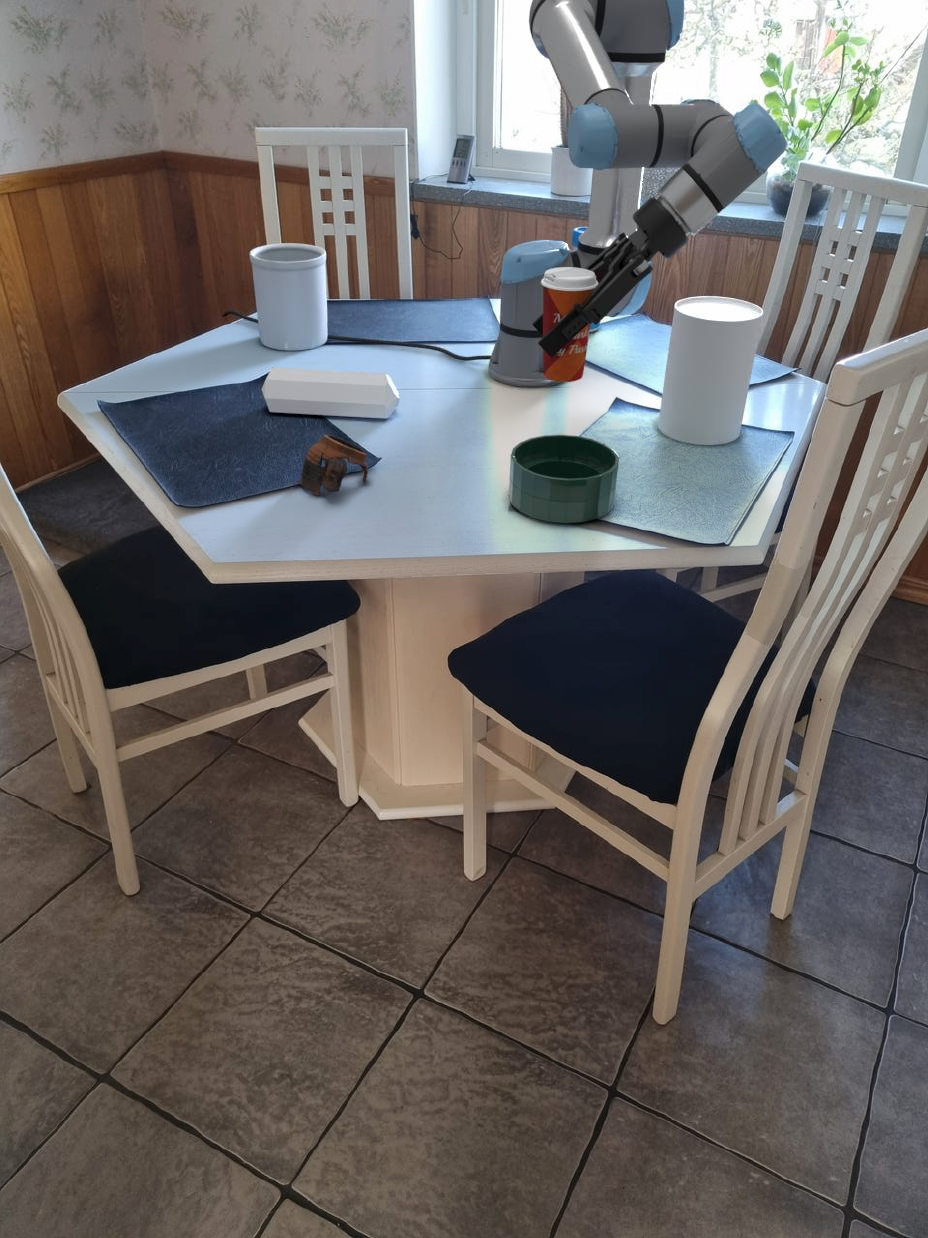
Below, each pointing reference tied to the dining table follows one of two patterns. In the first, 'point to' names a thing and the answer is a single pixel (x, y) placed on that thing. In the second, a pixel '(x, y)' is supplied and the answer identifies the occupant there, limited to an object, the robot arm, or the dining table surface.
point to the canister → (709, 369)
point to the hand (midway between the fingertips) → (541, 340)
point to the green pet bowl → (563, 478)
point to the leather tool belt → (330, 464)
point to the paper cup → (558, 301)
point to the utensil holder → (290, 295)
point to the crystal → (330, 393)
